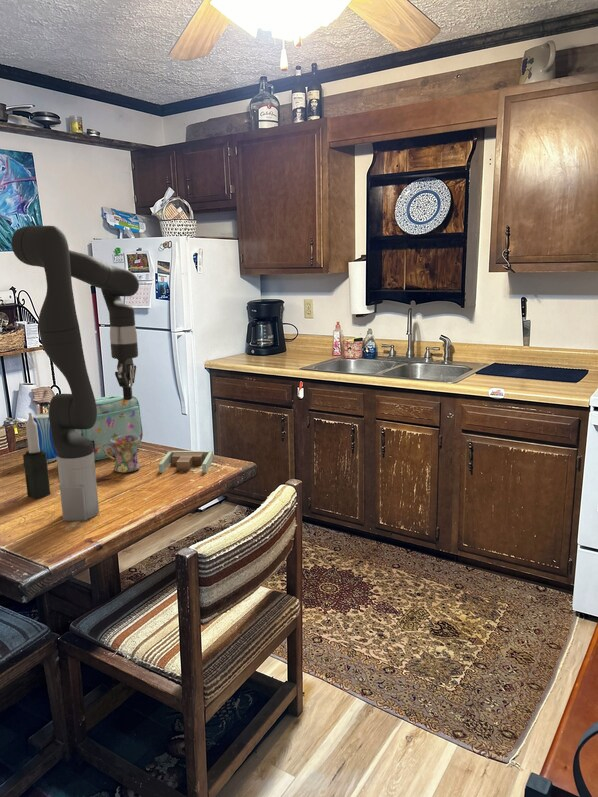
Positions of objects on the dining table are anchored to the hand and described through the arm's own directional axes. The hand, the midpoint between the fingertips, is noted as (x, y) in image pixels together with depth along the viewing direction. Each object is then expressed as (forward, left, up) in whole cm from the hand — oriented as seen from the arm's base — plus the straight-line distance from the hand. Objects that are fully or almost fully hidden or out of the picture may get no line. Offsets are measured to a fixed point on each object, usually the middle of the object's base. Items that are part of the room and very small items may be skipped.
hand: (128, 399), depth 175 cm
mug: (+14, +8, -27) cm, 32 cm away
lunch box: (+32, +19, -27) cm, 46 cm away
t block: (+18, -12, -27) cm, 35 cm away
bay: (+18, -13, -27) cm, 35 cm away
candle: (-8, +26, -27) cm, 38 cm away
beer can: (+25, +38, -27) cm, 53 cm away
